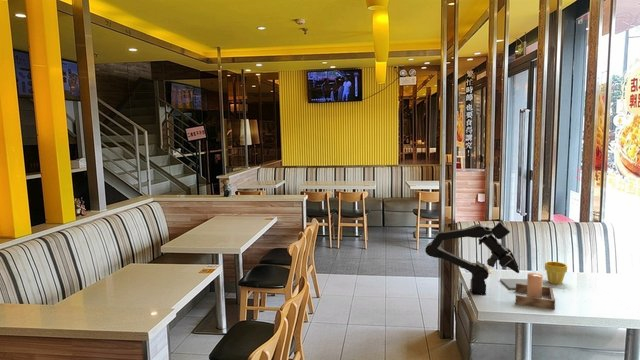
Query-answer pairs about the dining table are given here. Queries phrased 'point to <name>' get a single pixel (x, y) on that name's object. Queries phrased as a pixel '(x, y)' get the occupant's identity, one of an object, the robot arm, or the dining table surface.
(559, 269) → the plant pot
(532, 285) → the candle
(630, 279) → the dining table surface
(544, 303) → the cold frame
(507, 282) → the slate mat
